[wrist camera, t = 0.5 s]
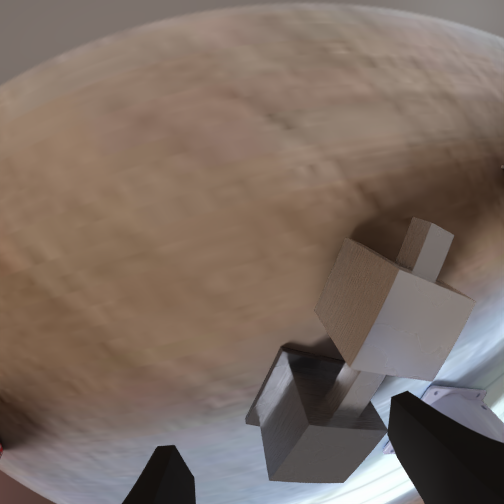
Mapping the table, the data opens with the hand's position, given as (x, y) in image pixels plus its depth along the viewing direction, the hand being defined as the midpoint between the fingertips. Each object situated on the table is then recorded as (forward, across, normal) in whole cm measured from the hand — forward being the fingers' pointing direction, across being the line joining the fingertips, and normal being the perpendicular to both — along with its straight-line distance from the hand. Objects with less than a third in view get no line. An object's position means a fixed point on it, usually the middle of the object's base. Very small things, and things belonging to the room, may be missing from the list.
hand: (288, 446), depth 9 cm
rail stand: (+10, -5, +2) cm, 11 cm away
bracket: (+9, -6, -1) cm, 11 cm away
